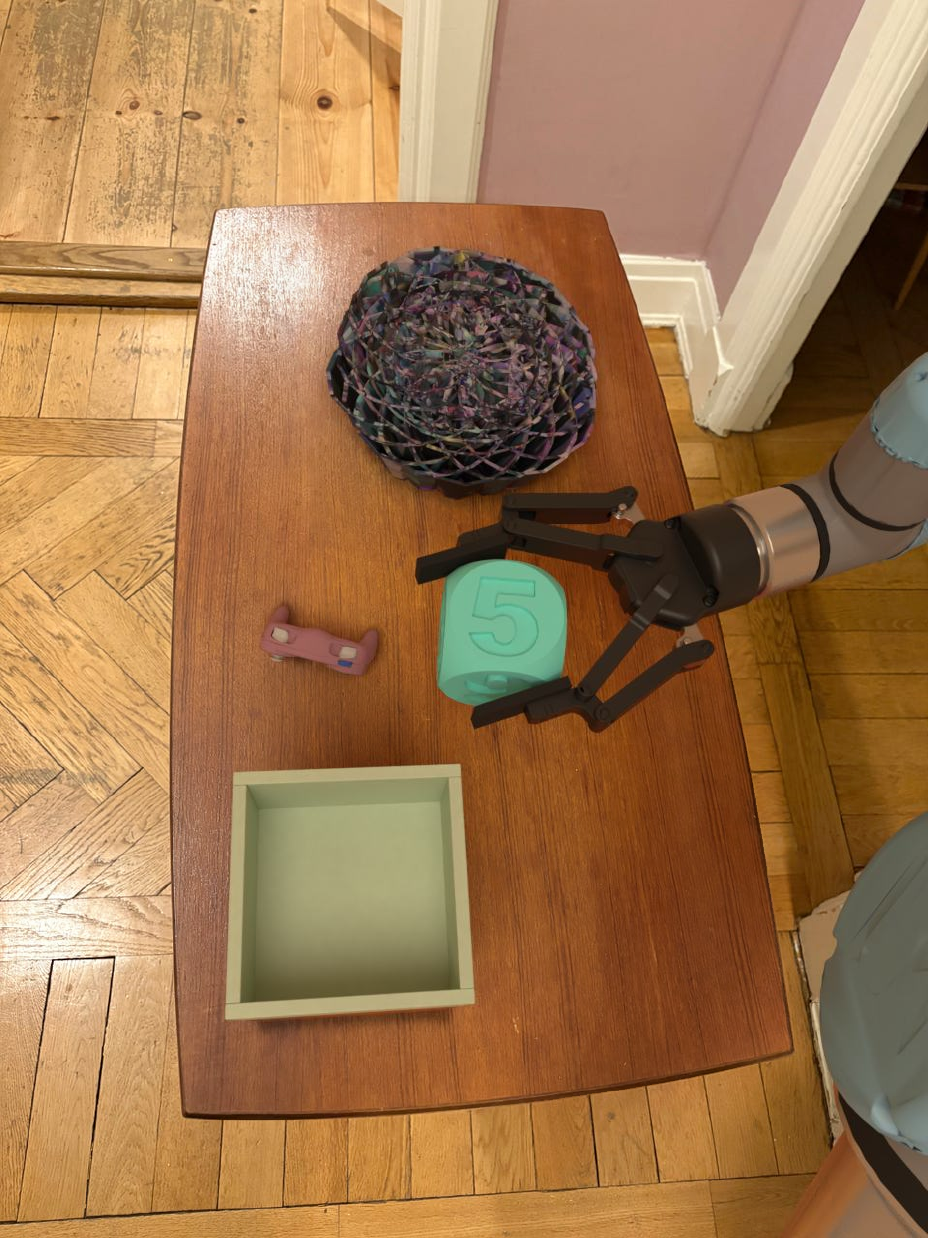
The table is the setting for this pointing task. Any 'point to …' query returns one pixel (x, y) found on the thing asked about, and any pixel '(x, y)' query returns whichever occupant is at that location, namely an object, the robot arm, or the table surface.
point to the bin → (348, 892)
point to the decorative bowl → (464, 371)
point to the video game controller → (317, 645)
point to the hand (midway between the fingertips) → (444, 642)
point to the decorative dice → (499, 630)
